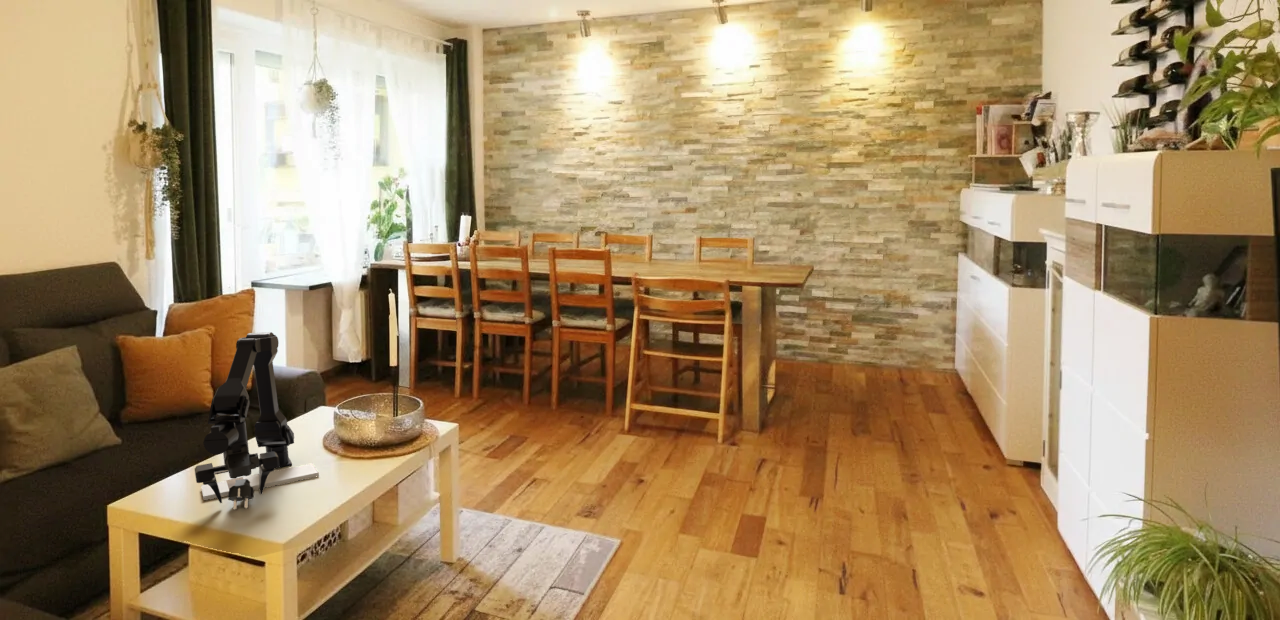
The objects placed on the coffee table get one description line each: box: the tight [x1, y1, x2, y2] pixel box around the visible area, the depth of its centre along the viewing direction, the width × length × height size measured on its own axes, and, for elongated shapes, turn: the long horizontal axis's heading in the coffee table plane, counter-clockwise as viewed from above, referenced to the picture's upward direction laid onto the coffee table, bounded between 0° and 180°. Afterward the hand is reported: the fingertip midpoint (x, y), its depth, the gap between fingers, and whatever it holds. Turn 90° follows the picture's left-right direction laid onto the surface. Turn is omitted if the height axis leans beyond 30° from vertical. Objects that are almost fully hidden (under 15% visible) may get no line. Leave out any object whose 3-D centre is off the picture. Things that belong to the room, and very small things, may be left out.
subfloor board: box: [200, 462, 320, 501], centre depth 209 cm, size 8×28×1 cm, turn 123°
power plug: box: [227, 479, 255, 511], centre depth 197 cm, size 6×8×12 cm
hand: (241, 498), depth 196 cm, fingers open, 9 cm apart
